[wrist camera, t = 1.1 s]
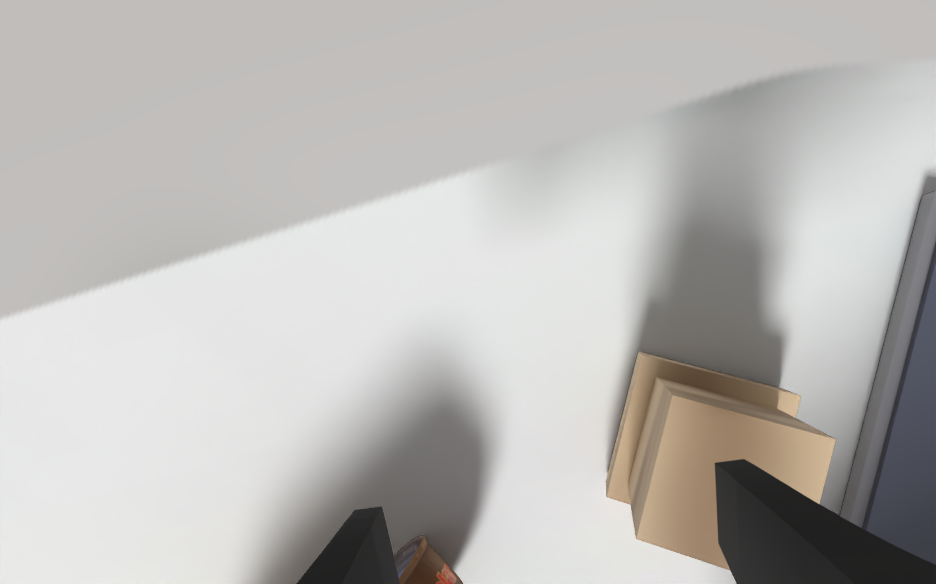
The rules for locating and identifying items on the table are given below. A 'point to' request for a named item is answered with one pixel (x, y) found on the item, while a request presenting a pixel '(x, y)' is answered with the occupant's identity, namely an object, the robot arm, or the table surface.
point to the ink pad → (903, 412)
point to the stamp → (704, 449)
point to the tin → (423, 565)
